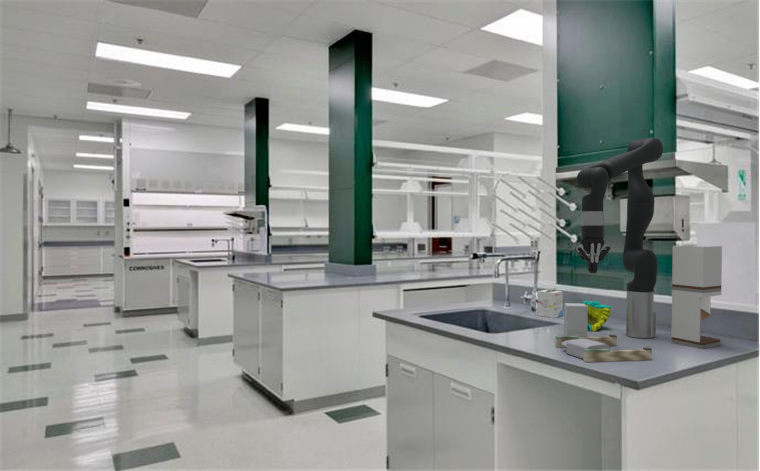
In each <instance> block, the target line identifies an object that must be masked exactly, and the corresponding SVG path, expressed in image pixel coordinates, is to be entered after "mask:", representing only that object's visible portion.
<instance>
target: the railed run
mask: <svg viewBox="0 0 760 471" xmlns="http://www.w3.org/2000/svg"><path fill="white" fill-rule="evenodd" d="M576 339H589V340H592V341H596V342H600V343H604V344H607V345H608V346H609V347H617V345H618V343H617V342H618V341H617V339H618V336H617V335H615V334H608V336H587V337H579V336H564V335H558V336H555V338H554V340H555V341H554V342H555V344H554V346H555V348H558V349H559V348H561V349H562V348H564V347H563V346H562V345H561V344H562V343H561V342H564V341H568V340H576ZM652 352H653V348H651V347H648V346H647V347H642V349H641V348H640V349H615V350H611V349H610V348H609V349H584V352H583V362H585V363H596V362H597V363H600V362H603V363H604V362H627V361H628V362H629V361H652V359H653V357H652V356H653V355H652V354H653V353H652Z"/></svg>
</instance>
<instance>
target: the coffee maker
mask: <svg viewBox="0 0 760 471" xmlns="http://www.w3.org/2000/svg"><path fill="white" fill-rule="evenodd" d="M722 255H723V246H722V245H717V246H715V245H714V246H713V245H712V246H695V245H694V244H691V245H689V244H688V245H685V244H683V245H681V244H680V245H672V262H671V264H672V274H671V277H672V278H671V279H672V280H671V334H670V335H671V338H670V339H671V344H672V343H673V344H677V345H682V346H686V347H691V348H696V349H699V350H700V349H701V350H704V349H709V348H713V347H717V346H721V339H720V338H717V337H710V336H705V335H701V321H703V320H706V319H709V318H710V317H711V302H712V301H711V298H712V297H715V296H722V270H723V269H722V268H723V267H722V266H723V264H722V263H723V260H722V258H723V256H722Z"/></svg>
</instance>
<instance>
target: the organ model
mask: <svg viewBox="0 0 760 471" xmlns="http://www.w3.org/2000/svg"><path fill="white" fill-rule="evenodd" d="M581 304H585V305H586V306H588V331H590V332H593V333H594V332H597V330H600V329H601V328H602V327H603V325H605V324H606V322H607V320H609V317H610V316H611V306H610V305H607V304H601V303H600V302H599V301H598V300H594V301H589V300H584V301H583V302H582V303H581Z"/></svg>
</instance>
